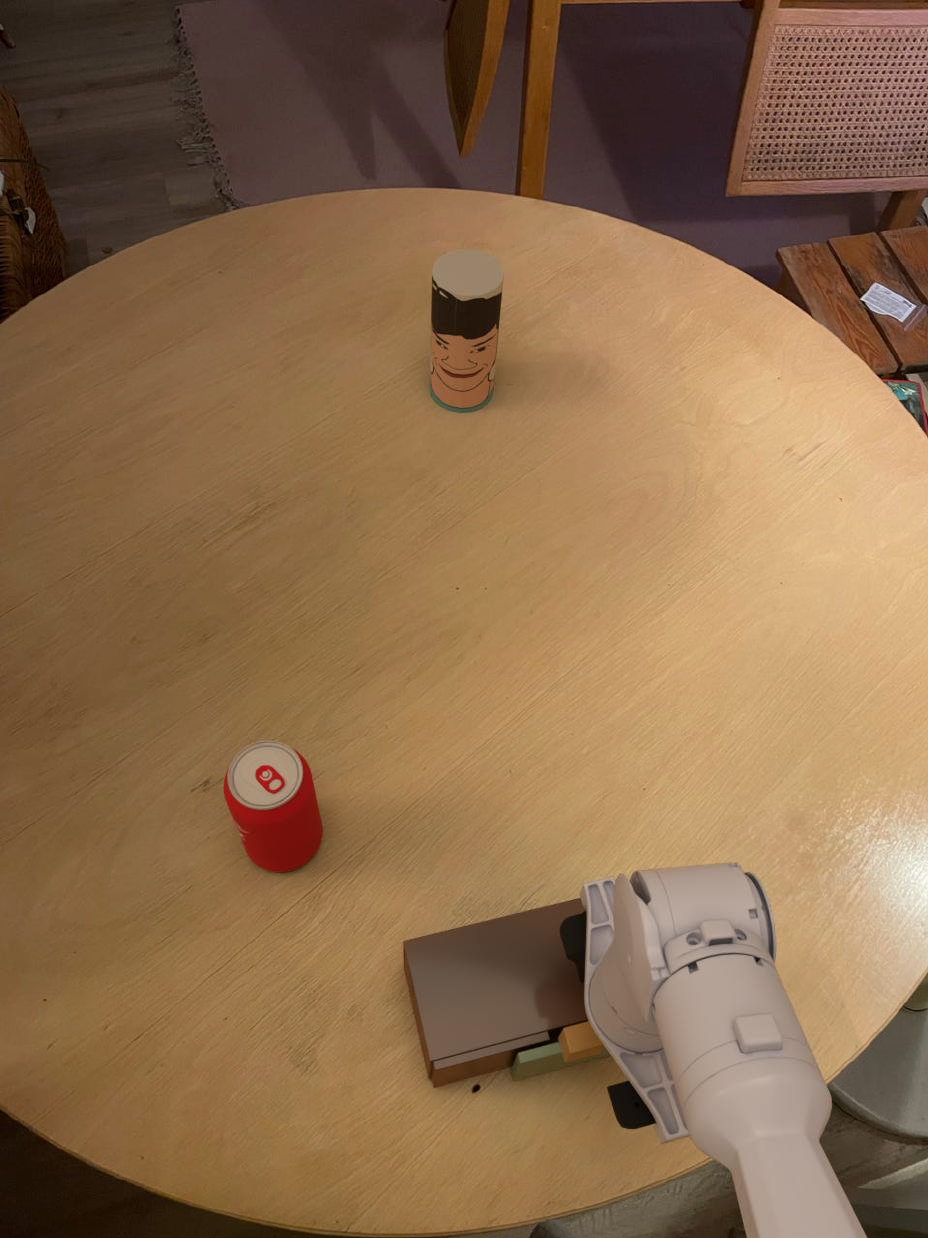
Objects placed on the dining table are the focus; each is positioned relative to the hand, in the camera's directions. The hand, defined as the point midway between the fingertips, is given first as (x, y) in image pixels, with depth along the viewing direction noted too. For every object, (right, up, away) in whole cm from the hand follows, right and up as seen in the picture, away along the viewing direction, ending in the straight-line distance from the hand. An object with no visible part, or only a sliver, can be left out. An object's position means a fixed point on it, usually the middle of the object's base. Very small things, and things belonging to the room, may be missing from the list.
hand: (612, 1033), depth 67 cm
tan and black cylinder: (-10, +51, +43) cm, 67 cm away
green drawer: (-2, -5, +6) cm, 8 cm away
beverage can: (-24, +9, +15) cm, 30 cm away
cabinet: (-5, -1, +9) cm, 10 cm away
